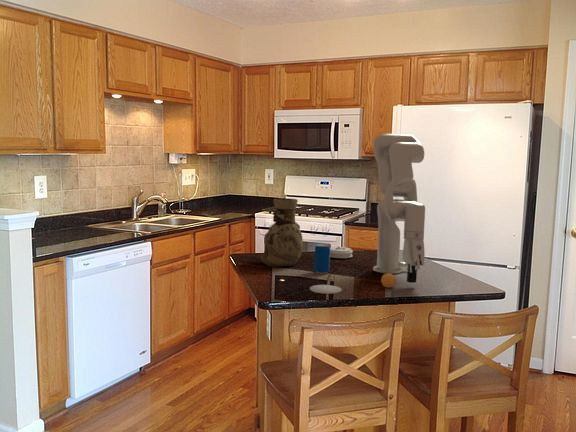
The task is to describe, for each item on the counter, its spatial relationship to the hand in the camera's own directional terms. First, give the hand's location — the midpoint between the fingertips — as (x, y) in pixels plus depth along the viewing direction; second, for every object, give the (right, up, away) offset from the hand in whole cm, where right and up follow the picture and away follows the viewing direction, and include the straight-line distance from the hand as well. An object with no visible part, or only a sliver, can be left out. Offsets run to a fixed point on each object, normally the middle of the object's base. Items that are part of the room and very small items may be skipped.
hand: (411, 281), depth 200 cm
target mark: (-34, -2, -6) cm, 35 cm away
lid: (-22, +5, +56) cm, 60 cm away
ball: (-9, +1, -2) cm, 10 cm away
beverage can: (-34, +1, +21) cm, 40 cm away
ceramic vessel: (-51, +3, +36) cm, 62 cm away
